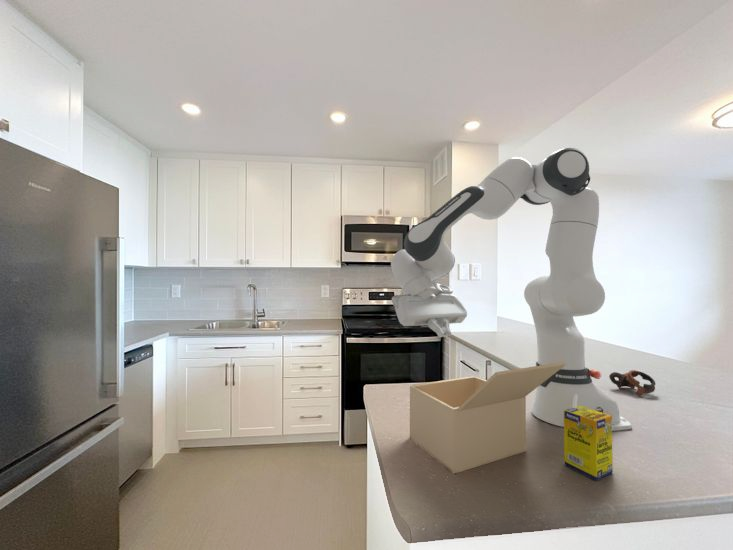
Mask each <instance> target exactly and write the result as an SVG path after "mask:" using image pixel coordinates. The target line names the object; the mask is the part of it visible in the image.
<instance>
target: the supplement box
mask: <svg viewBox="0 0 733 550" xmlns="http://www.w3.org/2000/svg"><path fill="white" fill-rule="evenodd" d="M563 442H564V443H563V445H564V446H563V448H564V449H563V450H564V451H563V452H564V453H563V457H564V459H563V460H564V463H563V464H564V466H566V467H568V468H569V469H572V470H573V471H576V472H577V473H580V474H581V475H584V476H585V477H588V478H589V479H592V480H594V481H599V480H600V479H601V478H604V477H606V476H608V475H611V474H612V473H614V472H613V469H614V467H613V431H612V416H611V415H608V414H605V413H602V412H599V411H595V410H592V409H590V408H587V407H583V406H578V407H576V408H572V409H568V410H564V427H563Z"/></svg>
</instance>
